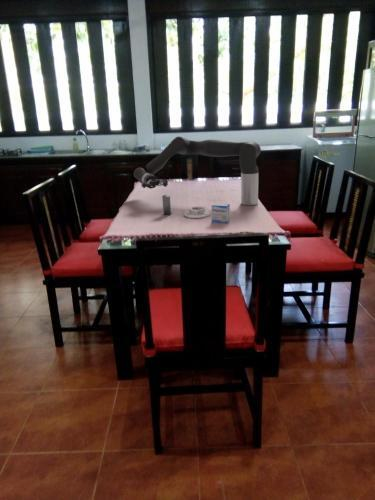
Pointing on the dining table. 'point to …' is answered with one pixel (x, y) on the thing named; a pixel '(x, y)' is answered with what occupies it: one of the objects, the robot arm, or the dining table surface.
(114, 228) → the dining table surface
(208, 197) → the dining table surface
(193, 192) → the dining table surface
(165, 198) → the steel pin
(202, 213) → the rosette plate
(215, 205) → the medicine box
